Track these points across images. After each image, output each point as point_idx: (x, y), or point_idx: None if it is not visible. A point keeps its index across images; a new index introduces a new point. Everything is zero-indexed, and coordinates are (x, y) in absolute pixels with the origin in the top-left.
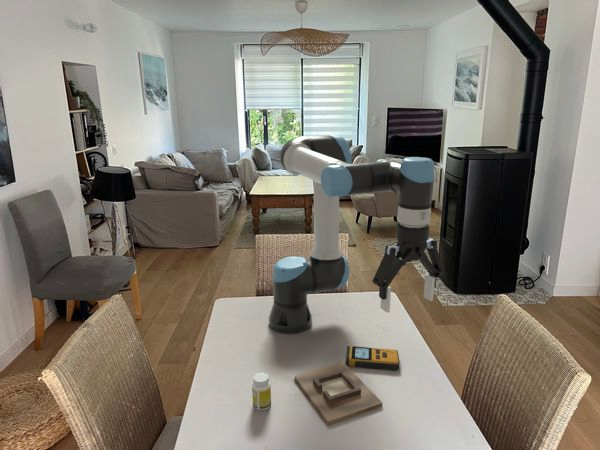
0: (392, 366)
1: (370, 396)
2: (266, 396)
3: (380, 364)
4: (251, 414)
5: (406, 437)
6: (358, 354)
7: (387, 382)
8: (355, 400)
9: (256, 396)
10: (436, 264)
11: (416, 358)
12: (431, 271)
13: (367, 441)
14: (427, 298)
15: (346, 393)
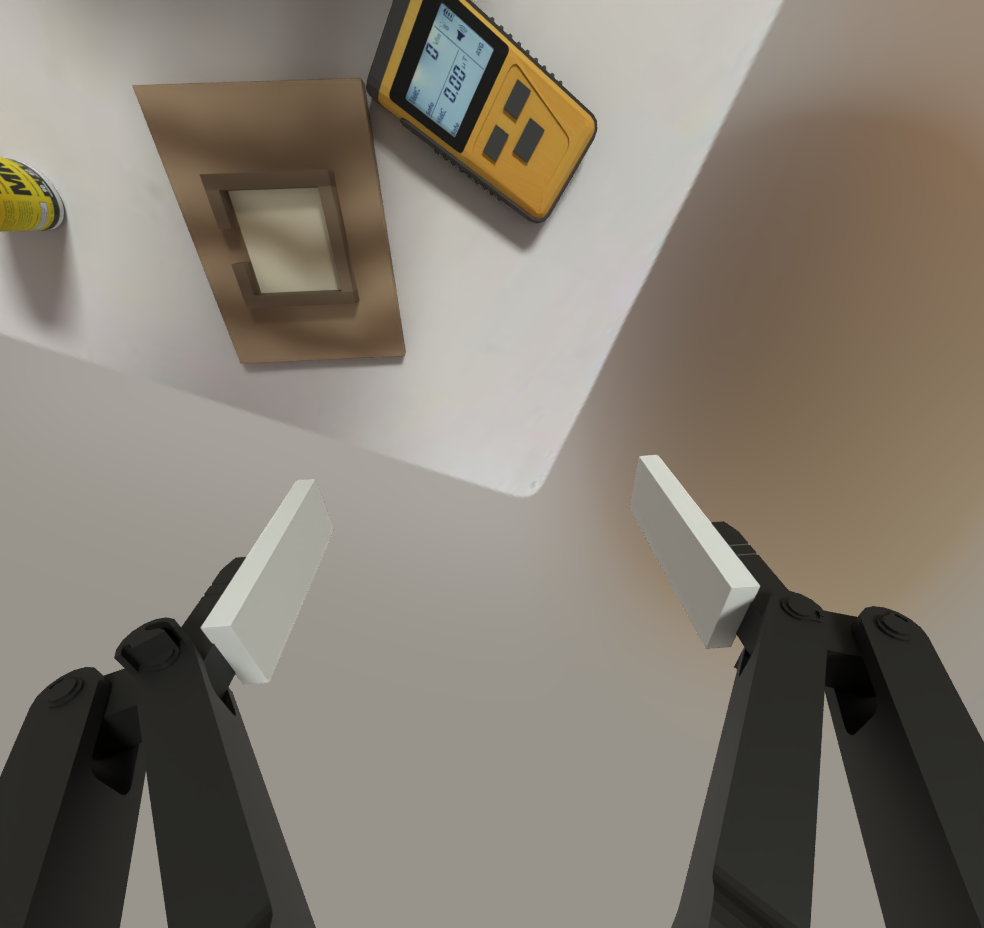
0: (521, 213)
1: (383, 320)
2: (8, 230)
3: (485, 186)
4: None
5: (411, 447)
6: (429, 78)
7: (471, 264)
8: (335, 319)
9: None
10: (857, 752)
11: (644, 179)
12: (730, 703)
13: (327, 429)
14: (635, 492)
15: (305, 303)
